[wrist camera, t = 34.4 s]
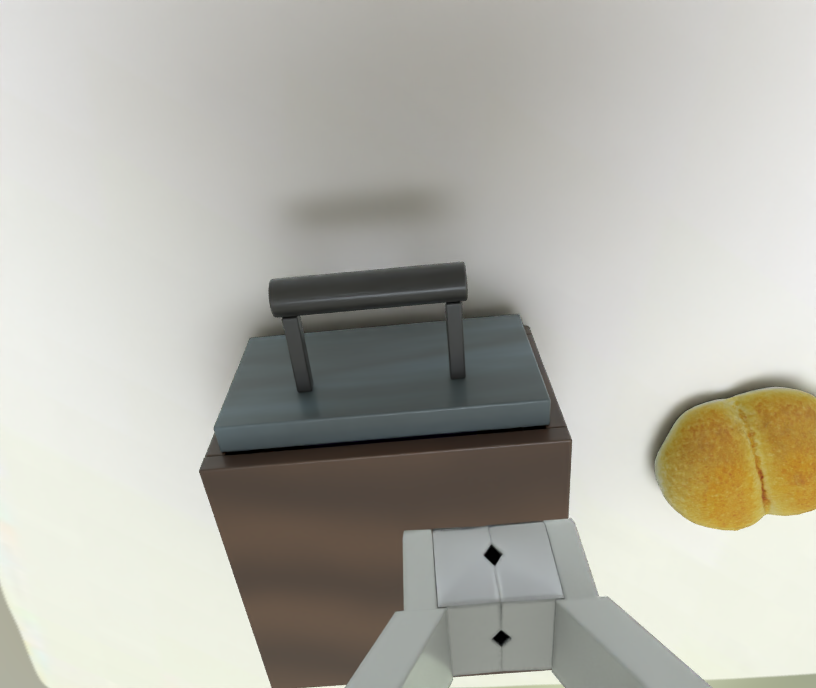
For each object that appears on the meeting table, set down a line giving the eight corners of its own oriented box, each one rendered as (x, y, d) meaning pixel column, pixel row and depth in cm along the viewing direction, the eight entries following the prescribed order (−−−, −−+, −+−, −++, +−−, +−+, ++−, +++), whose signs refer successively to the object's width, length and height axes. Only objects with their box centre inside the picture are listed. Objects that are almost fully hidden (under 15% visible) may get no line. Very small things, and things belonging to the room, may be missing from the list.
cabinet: (246, 350, 31) (198, 470, 23) (528, 325, 30) (572, 439, 23) (296, 548, 37) (272, 690, 30) (528, 530, 37) (561, 669, 30)
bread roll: (637, 412, 33) (666, 463, 29) (818, 360, 32) (870, 408, 28) (661, 521, 37) (689, 577, 33) (823, 479, 35) (869, 534, 32)
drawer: (225, 240, 27) (177, 315, 21) (518, 213, 27) (553, 280, 21) (297, 531, 36) (278, 641, 30) (520, 513, 35) (545, 622, 29)
